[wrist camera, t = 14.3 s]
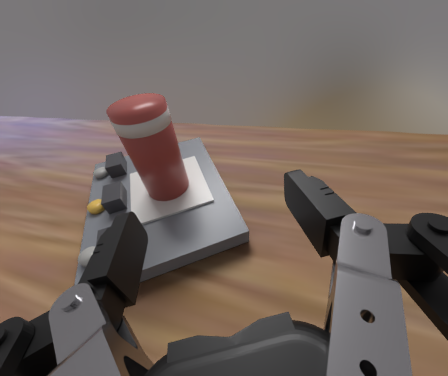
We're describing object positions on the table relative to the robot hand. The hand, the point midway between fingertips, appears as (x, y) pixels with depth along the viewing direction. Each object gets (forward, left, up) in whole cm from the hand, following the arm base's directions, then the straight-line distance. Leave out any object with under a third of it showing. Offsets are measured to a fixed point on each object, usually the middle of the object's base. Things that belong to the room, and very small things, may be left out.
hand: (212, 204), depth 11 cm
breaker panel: (+4, -12, -11) cm, 17 cm away
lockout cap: (+3, -12, -9) cm, 15 cm away
